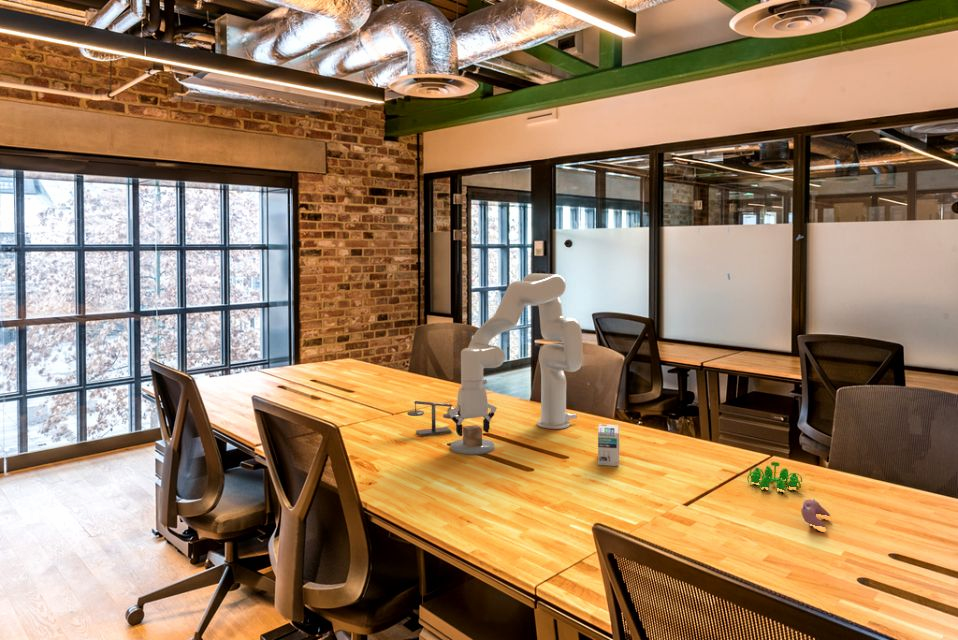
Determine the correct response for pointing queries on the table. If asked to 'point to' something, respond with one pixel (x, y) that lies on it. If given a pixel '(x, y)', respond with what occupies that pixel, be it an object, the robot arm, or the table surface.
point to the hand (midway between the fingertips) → (473, 433)
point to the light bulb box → (608, 445)
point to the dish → (463, 449)
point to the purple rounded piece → (813, 512)
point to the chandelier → (769, 473)
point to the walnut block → (472, 436)
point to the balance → (434, 430)
